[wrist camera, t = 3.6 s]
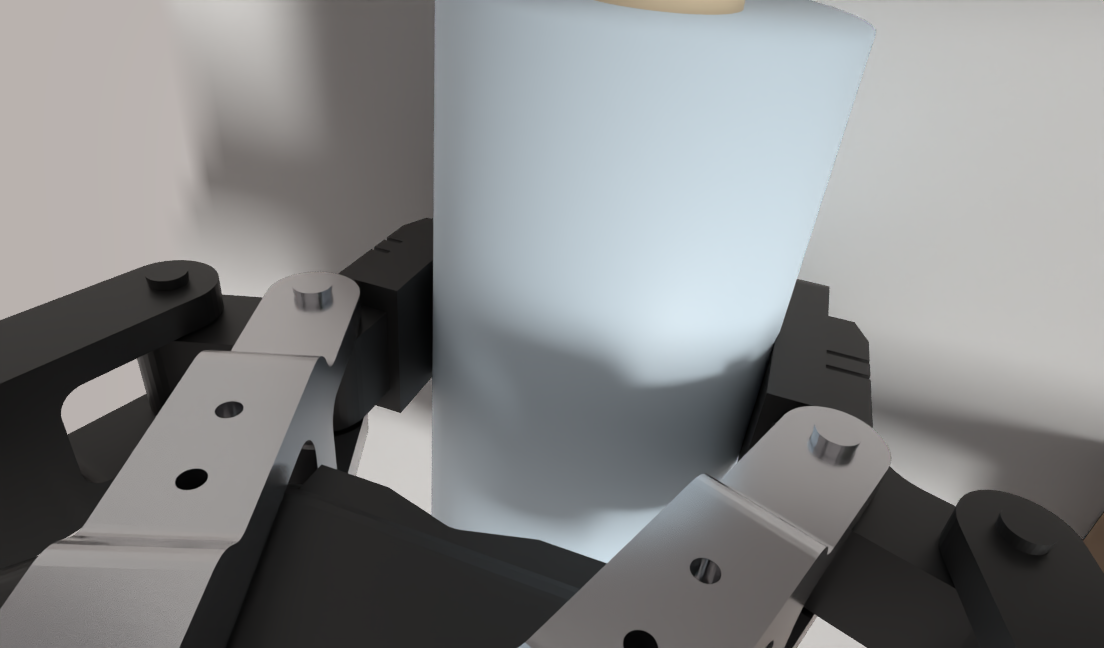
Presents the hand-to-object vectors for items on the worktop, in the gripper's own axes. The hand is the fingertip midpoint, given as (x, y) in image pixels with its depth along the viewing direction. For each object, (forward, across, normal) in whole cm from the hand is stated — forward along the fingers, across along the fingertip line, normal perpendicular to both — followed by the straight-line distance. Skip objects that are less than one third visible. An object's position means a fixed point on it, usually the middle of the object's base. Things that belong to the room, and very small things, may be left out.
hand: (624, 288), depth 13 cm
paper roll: (-2, 0, 0) cm, 2 cm away
